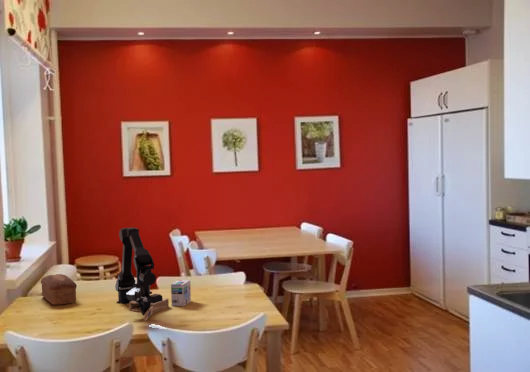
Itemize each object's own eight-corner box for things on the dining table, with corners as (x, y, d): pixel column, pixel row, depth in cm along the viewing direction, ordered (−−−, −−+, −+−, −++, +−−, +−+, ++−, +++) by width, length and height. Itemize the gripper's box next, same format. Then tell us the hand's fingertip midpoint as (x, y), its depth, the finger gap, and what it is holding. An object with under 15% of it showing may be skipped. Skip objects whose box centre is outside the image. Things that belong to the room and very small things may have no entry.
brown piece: (129, 310, 286) (129, 301, 286) (145, 304, 297) (144, 296, 297) (153, 313, 280) (153, 304, 280) (168, 306, 291) (168, 298, 291)
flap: (146, 320, 266) (146, 313, 265) (144, 320, 266) (144, 313, 265) (154, 312, 280) (153, 305, 279) (152, 312, 280) (152, 305, 279)
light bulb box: (184, 306, 291) (183, 284, 291) (171, 306, 293) (170, 284, 292) (191, 301, 302) (190, 279, 301) (178, 300, 303) (177, 279, 303)
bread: (66, 293, 326) (65, 270, 325) (79, 303, 302) (78, 279, 301) (39, 296, 319) (38, 273, 318) (50, 307, 295) (49, 282, 294)
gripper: (115, 281, 270) (116, 316, 271) (144, 287, 260) (145, 322, 260) (134, 277, 279) (135, 310, 280) (162, 282, 269) (163, 316, 269)
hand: (144, 315), depth 272 cm, fingers closed
